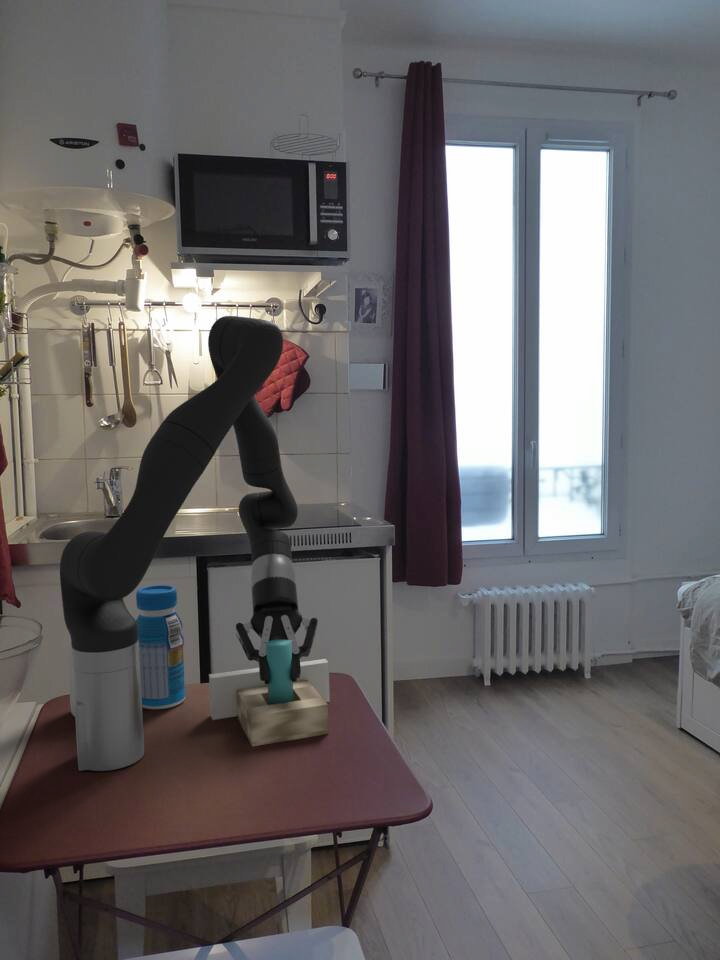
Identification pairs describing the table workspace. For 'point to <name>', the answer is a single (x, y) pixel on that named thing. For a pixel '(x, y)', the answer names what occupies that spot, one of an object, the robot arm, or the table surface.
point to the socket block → (282, 714)
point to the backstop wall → (229, 682)
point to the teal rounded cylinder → (279, 671)
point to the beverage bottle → (160, 647)
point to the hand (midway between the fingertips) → (280, 680)
